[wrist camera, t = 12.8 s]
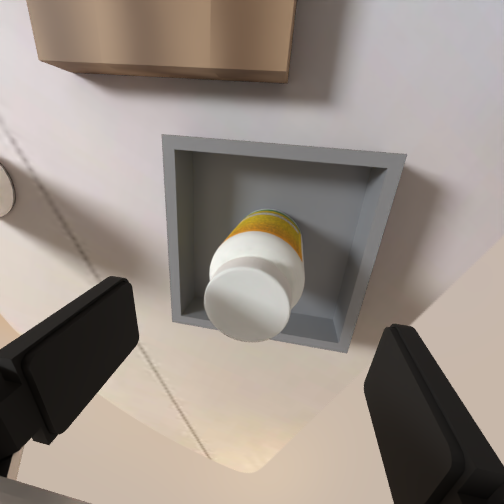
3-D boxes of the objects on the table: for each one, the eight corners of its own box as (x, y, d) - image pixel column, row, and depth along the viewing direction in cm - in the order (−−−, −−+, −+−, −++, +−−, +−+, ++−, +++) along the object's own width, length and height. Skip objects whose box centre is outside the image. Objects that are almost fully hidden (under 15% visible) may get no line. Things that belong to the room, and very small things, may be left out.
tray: (384, 154, 17) (407, 154, 13) (339, 323, 22) (346, 353, 19) (185, 138, 18) (161, 134, 15) (189, 298, 24) (172, 321, 20)
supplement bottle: (306, 266, 20) (314, 354, 11) (243, 272, 21) (206, 357, 12) (297, 201, 18) (298, 245, 9) (229, 212, 19) (174, 261, 10)
